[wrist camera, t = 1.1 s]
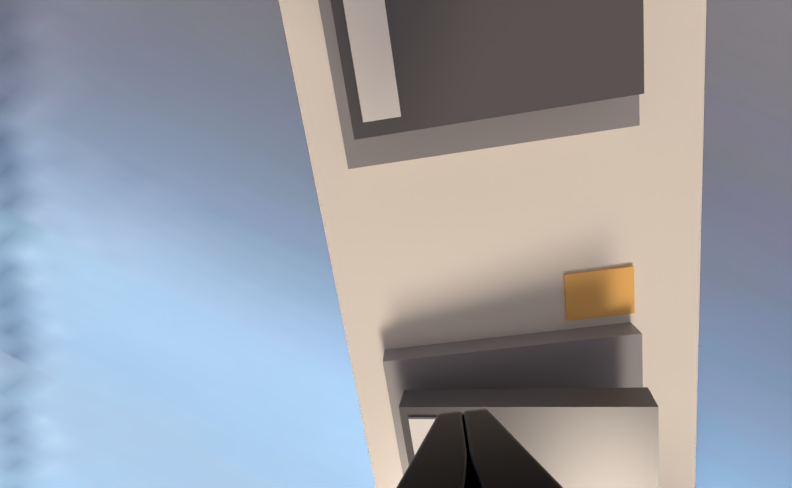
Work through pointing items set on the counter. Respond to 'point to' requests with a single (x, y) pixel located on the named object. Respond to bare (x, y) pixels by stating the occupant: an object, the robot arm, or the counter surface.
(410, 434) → the rocker
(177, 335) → the counter surface
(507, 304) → the switch panel
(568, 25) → the rocker
